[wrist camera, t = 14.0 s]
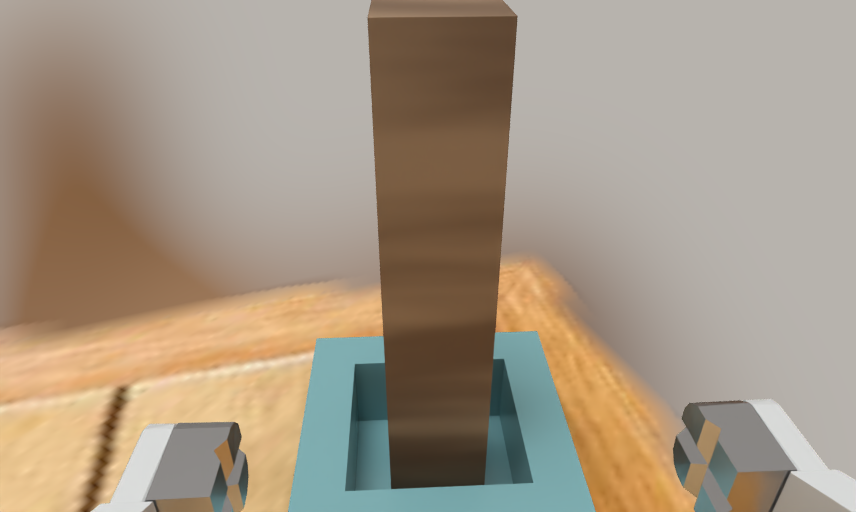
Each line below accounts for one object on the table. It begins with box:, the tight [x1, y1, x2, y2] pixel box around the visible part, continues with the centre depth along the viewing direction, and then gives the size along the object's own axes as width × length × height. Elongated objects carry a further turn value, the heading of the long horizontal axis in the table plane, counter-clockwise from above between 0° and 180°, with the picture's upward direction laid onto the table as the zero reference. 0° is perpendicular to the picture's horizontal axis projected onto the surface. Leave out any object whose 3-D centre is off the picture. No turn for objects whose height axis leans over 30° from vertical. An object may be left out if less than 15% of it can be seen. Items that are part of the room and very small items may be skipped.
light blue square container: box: [288, 331, 596, 512], centre depth 24 cm, size 10×10×4 cm
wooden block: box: [368, 0, 517, 489], centre depth 20 cm, size 4×4×18 cm
